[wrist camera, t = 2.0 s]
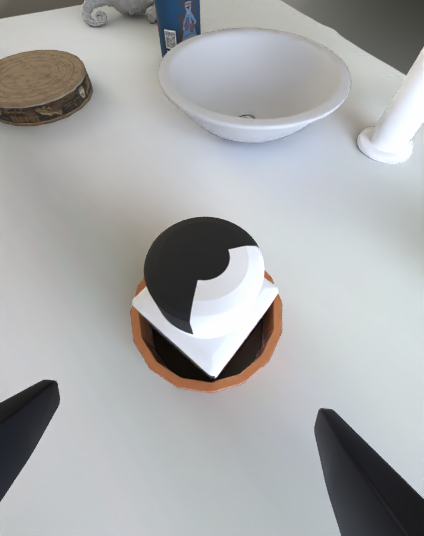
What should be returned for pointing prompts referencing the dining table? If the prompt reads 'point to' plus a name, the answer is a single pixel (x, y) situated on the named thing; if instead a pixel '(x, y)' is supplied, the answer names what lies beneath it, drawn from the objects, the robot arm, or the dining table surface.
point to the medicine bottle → (205, 290)
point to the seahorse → (125, 3)
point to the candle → (398, 120)
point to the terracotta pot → (155, 363)
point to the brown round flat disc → (42, 87)
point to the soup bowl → (253, 82)
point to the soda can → (177, 21)
